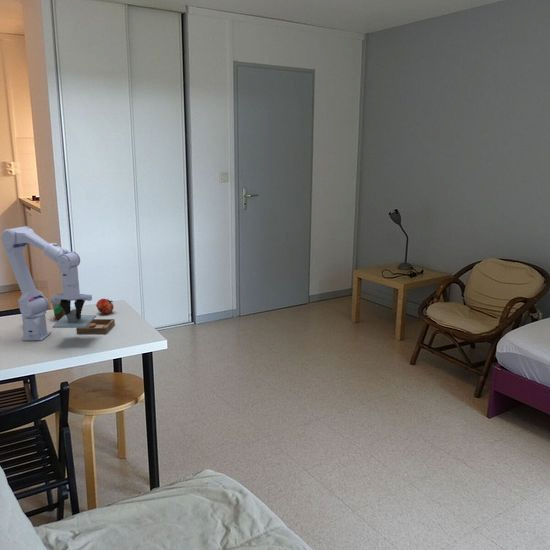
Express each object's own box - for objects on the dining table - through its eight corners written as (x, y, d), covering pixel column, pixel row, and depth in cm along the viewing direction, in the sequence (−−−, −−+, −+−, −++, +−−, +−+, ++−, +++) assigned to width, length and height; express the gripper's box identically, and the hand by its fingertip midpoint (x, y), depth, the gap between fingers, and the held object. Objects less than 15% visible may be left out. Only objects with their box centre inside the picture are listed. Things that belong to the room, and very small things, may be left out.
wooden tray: (106, 334, 215) (105, 328, 214) (76, 334, 215) (76, 328, 214) (114, 324, 227) (114, 319, 226) (86, 324, 227) (86, 319, 226)
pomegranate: (95, 320, 240) (109, 309, 236) (88, 306, 241) (101, 295, 237) (107, 317, 246) (120, 306, 242) (99, 304, 247) (113, 293, 243)
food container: (51, 315, 239) (49, 294, 237) (66, 313, 242) (64, 292, 240) (52, 323, 228) (50, 301, 226) (68, 321, 231) (66, 299, 229)
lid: (85, 329, 199) (84, 317, 198) (52, 329, 199) (51, 317, 198) (96, 317, 211) (95, 306, 210) (65, 317, 211) (63, 306, 210)
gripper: (93, 281, 205) (96, 315, 208) (55, 281, 205) (59, 315, 208) (87, 286, 198) (90, 320, 201) (48, 286, 198) (52, 321, 201)
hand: (74, 318), depth 204 cm, fingers closed on lid, 3 cm apart
